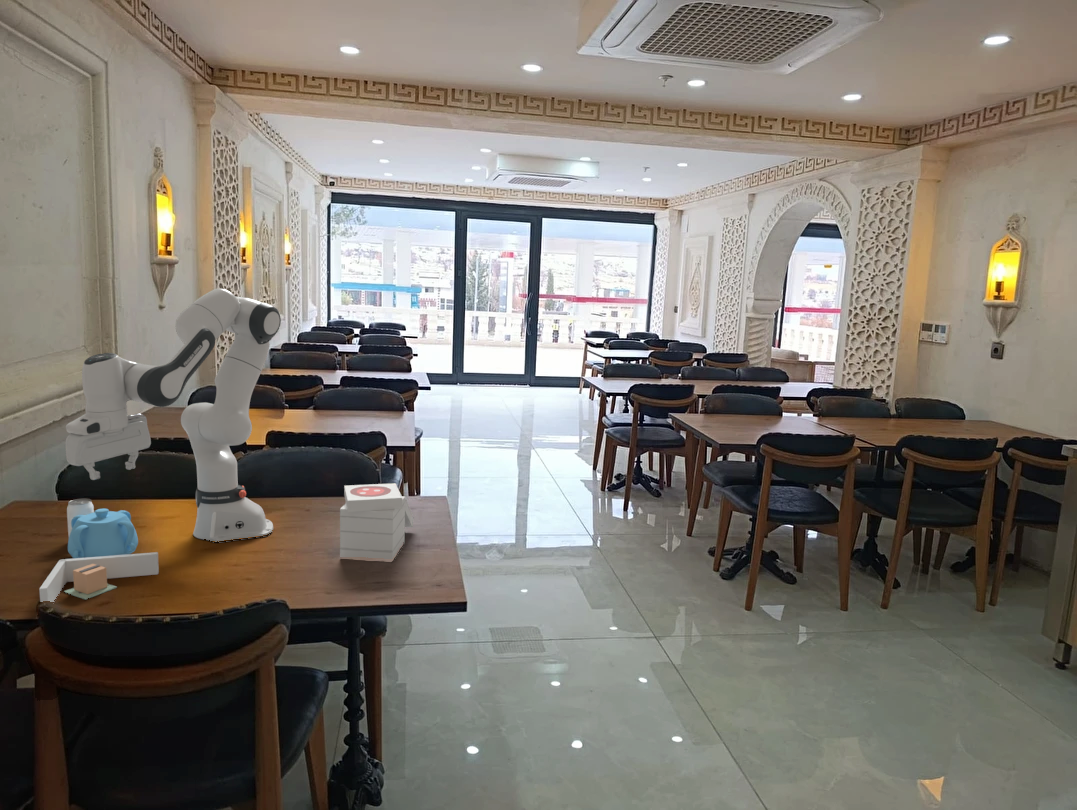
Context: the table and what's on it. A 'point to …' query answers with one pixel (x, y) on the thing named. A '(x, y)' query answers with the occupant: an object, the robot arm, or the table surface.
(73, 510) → the can
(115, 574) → the white l-shaped bracket
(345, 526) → the pizza boxes
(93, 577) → the cube
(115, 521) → the decorative pot
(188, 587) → the table surface
